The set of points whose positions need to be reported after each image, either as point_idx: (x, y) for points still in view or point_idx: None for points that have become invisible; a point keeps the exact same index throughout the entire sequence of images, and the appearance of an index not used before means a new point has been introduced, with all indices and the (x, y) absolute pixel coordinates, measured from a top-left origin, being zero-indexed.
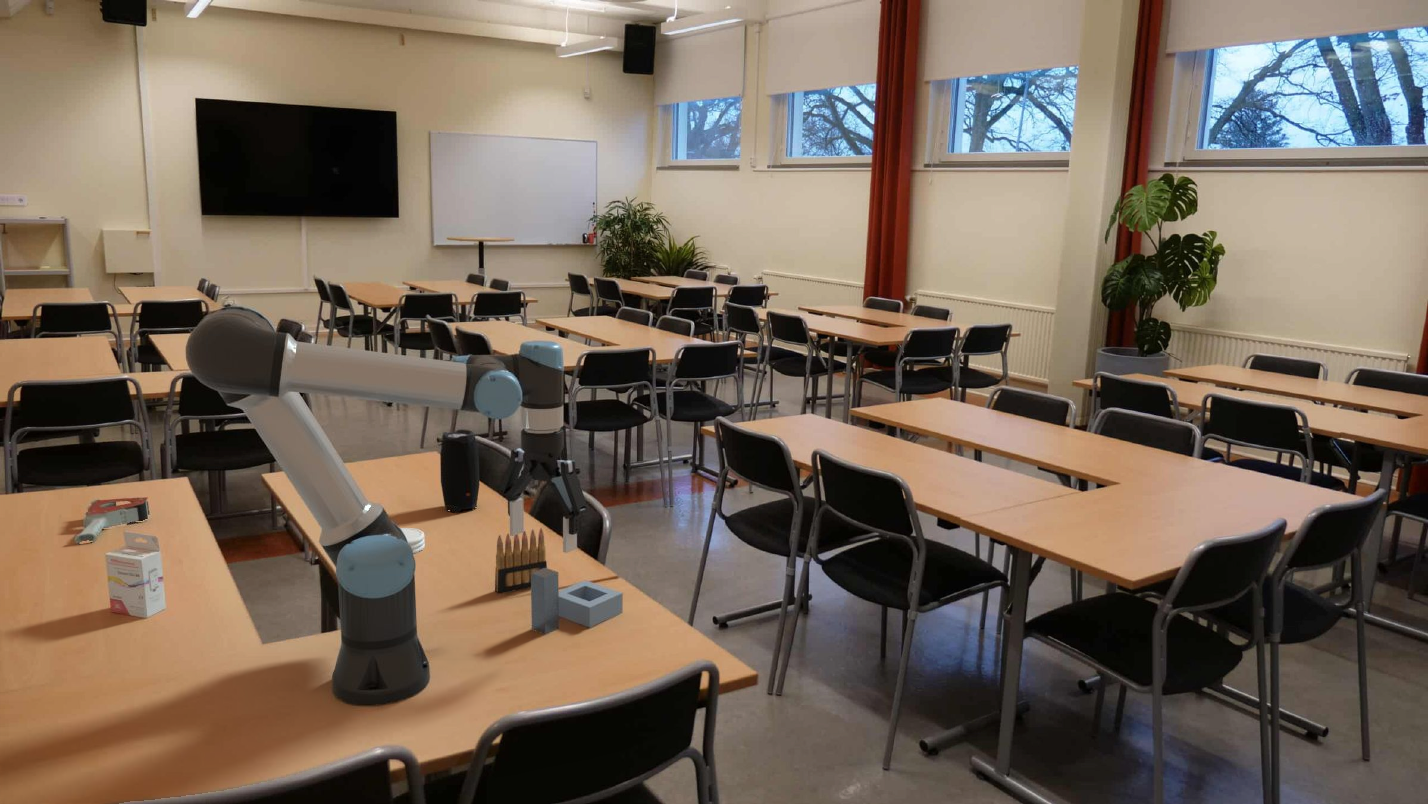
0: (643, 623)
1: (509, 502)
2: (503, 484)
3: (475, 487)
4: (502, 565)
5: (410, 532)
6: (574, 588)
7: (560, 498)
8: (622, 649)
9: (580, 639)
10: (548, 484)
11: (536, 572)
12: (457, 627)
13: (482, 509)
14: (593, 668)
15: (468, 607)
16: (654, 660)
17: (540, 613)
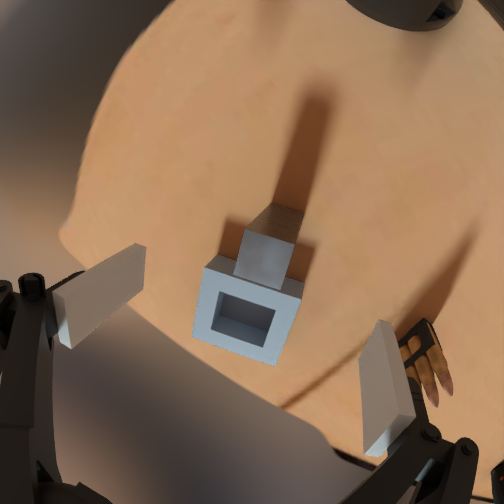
0: (160, 294)
1: (420, 419)
2: (463, 482)
3: (495, 488)
4: (430, 352)
5: None
6: (273, 332)
7: (21, 351)
8: (140, 205)
9: (207, 209)
10: (23, 429)
11: (283, 253)
12: (428, 171)
13: (485, 473)
14: (144, 133)
15: (448, 252)
16: (96, 195)
17: (276, 213)
